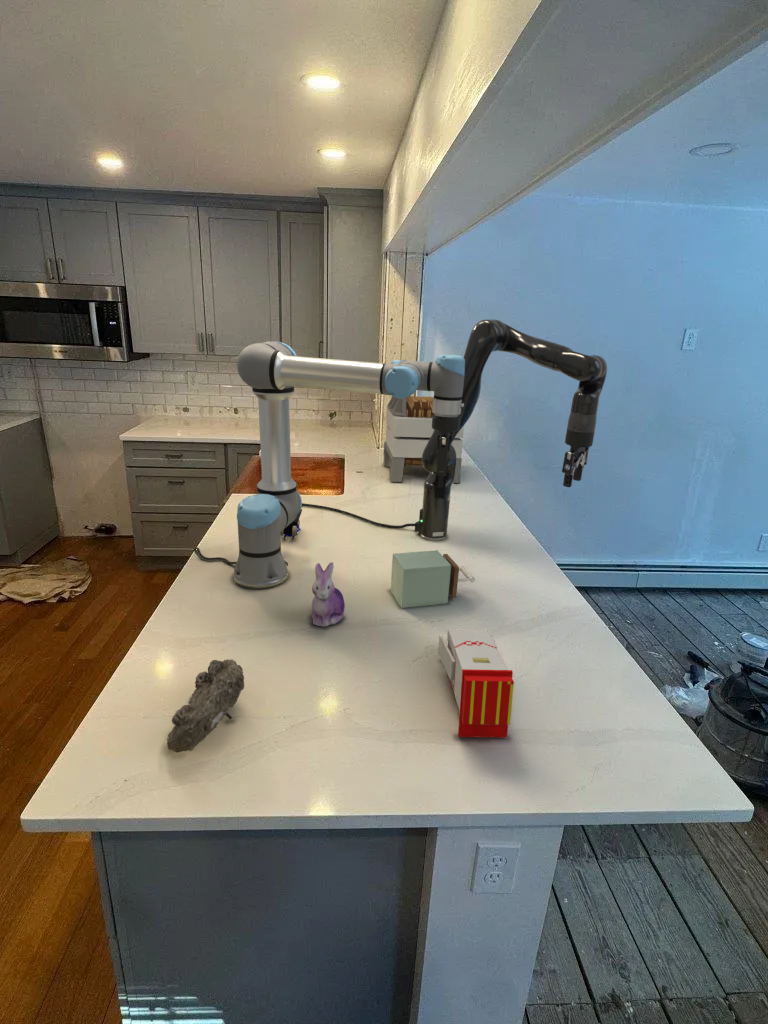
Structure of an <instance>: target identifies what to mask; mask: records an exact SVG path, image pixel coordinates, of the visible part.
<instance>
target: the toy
mask: <svg viewBox="0 0 768 1024" xmlns="http://www.w3.org/2000/svg"><path fill="white" fill-rule="evenodd" d="M446 640H447V643H446V641H445V639H444V636H443V635H442V634H439V637H438V646H437V656H438V657H439V659H440V661H441V663H442V666H443V668H444V670H445V672H446V674H447V677H448V679H449V681H450V684H451V687H452V690H453V693H454V697H455V701H456V705H457V708H458V711H459V714H458V715H459V716H458V730H457V731H458V732H457V737H458V738H508V731H509V726H510V725H511V717H512V707H513V697H514V696H513V695H514V684H515V680H514V679H513V673H514V671H513V670H512V669H508V667H507V665H506V662H505V661H504V659H503V658H502V655H501V653H500V651H499V649H498V647H497V643H496V639H495V637H494V635H493V634H491V632H490V631H489V629H467V628H466V629H465V628H463V629H461V628H460V629H459V628H448V630H447V639H446Z"/></svg>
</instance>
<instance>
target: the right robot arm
mask: <svg viewBox="0 0 768 1024" xmlns="http://www.w3.org/2000/svg"><path fill="white" fill-rule="evenodd" d="M493 352H505V353H510V354H514V355H517V356H520V357H522V358H524V359H527V360H528V361H529V362H532V363H534V364H535V365H538V366H540V367H542V368H546V369H548V370H552V371H554V372H557V373H561V374H563V375H565V376H566V377H569V378H571V379H573V380H576V381H579V383H578V385H577V389H576V390H575V392H574V393H573V396H572V400H571V407H570V413H569V416H568V419H567V425H566V432H565V438H564V443H565V444H566V445H567V446H569V447H570V448H569V451H565V453H564V458H563V463H562V468H561V473H563V474H564V477H563V483H562V486H564V487H566V488H571V487H572V486H573V485H572V484H573V481H576V482H580V481H582V476H583V472H584V471H583V470H584V468H585V466H587V463H588V456H589V450H590V447H593V445H594V438H595V433H596V426H597V418H598V417H597V415H598V410H599V409H598V408H599V403H600V396H601V394H602V390H603V388H604V384H605V381H606V378H607V373H608V364H607V361H606V359H605V358H604V357H602V356H601V355H598V354H591V355H589V354H584V353H581V352H579V351H574V350H573V349H572V348H570V347H568V346H566V345H564V344H559V343H557V342H553V341H549V340H546V339H542V338H540V337H536V336H532V335H530V334H527V333H524V332H522V331H520V330H517V329H516V328H514V327H512V326H510V325H508V324H506V323H505V322H502V321H501V320H499V319H489V318H486V319H485V318H484V319H481V320H478V322H477V323H475V325H474V326H473V327H472V329H471V332H470V334H469V337H468V341H467V345H466V348H465V351H464V354H463V358H464V359H465V372H464V373H465V375H464V385H463V394H462V402H461V403H463V404H464V406H463V407H461V414H460V415H458V416H459V417H460V428H459V430H458V431H455V432H452V431H451V432H450V436H452V442H453V440H454V438H455V436H456V435H457V434H458V432H459V431H460V430H461V428H462V427H463V426H464V427H465V425H466V424H467V422H468V421H469V420H470V418H471V417H472V414H473V413H474V410H475V408H476V405H477V404H478V401H479V398H480V396H481V389H482V376H483V372H484V369H485V367H486V364H487V362H488V360H489V358H490V356H491V355H492V353H493ZM438 435H441V431H437V430H434V432H433V434H432V436H431V438H430V440H429V442H428V443H427V445H426V447H425V449H424V451H423V454H422V464H423V466H422V467H423V468H424V470H425V471H427V472H428V473H429V474H428V476H427V477H426V478H425V480H424V482H423V493H422V496H423V497H422V506H421V508H420V509H419V516H418V520H417V521H415V523H405V524H401V525H393V524H387V523H381V522H376V521H374V520H371V519H369V518H366V517H362V516H360V515H358V514H354V513H351V512H348V511H346V510H343V509H340V508H339V509H338V508H334V507H329V506H325V505H319V504H311V503H304V502H302V507H308V508H309V507H310V508H315V509H316V508H317V509H323V510H327V511H328V510H329V511H333V512H336V513H340V514H343V515H347V516H350V517H353V518H354V519H358V520H361V521H363V522H366V523H368V524H371V525H374V526H379V527H384V528H388V529H405V528H408V527H414V532H417V535H418V536H420V538H421V539H424V540H426V541H432V542H440V541H444V540H446V539H447V538H448V525H449V517H450V516H449V514H450V504H451V494H452V493H451V491H452V486H453V484H454V483H453V481H454V476H455V468H456V451H455V449H454V447H453V446H452V445H450V453H448V458H450V461H447V462H448V467H447V479H446V485H445V497H444V499H440V498H434V495H435V482H436V475H434V472H436V471H437V462H438V452H437V445H438V444H437V437H438ZM451 444H452V443H451Z"/></svg>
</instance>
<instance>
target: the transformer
mask: <svg viewBox="0 0 768 1024" xmlns="http://www.w3.org/2000/svg"><path fill="white" fill-rule="evenodd" d="M433 398H434V396H415V395H414V396H413V395H411V396H409V397H407V398H395V397H393V396H391V398H390V400H389V402H388V404H387V405H386V413H385V414H386V415H385V423H386V428H385V438H384V442H383V466H384V467H388V468H389V475H388V476H389V477H388V478H389V480H390V482H391V483H402V482H403V475H404V469H405V466H406V467H407V466H411V467H412V466H413V467H415V466H416V467H417V466H418V467H423V464H422V454H423V451H424V449H425V447H426V445H427V443H428V442H429V440H430V438H431V436H432V434H433V432H434V429H433V428H432V416H433V415H434V413H433ZM464 429H465V425H464V426H463V427H462V428H461V430H460V431H459V432H458V434H457V435H456V436H455V438H454V440H453V442H452V444H451V445H452V446H453V447H454V449H455V451H456V468H455V476H454V481H453V483H452V484H455V483H456V484H459V483H461V472H462V461H463V460H462V453H463V442H464V441H463V440H462V439H463V438H464V431H465V430H464Z"/></svg>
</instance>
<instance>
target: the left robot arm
mask: <svg viewBox="0 0 768 1024" xmlns="http://www.w3.org/2000/svg"><path fill="white" fill-rule="evenodd" d="M236 368H237V372H238V376H239V377H240V379H241V380H242V381H243V382H244V383H245V384H246V385H247V386H249V387H251V391H252V393H253V394H254V395H255V396H256V397H257V402H258V403H257V404H258V422H259V445H260V465H261V479H260V481H258V483H257V484H256V493H255V494H252V495H249V496H246V497H244V498H242V499H241V500H240V501H239V503H238V505H237V508H236V509H237V512H236V520H237V537H238V538H237V539H238V556H237V560H236V561H230V560H228V559H227V558H225V557H219V556H216V557H206V556H205V555H203V554H202V553H201V550H200V548H199V547H195V548H194V549H193V551H194V552H197V554H198V555H199V557H200V558H201V559H202V560H205V561H224V562H225V563H226V564H228V565H235V566H234V569H233V581H234V582H235V583H236V584H237V585H238V586H241V587H244V588H247V589H255V590H256V589H257V590H258V589H259V590H261V589H268V588H273V587H276V586H280V585H281V584H282V583H284V582H286V580H287V579H288V577H289V571H288V566H289V562H287V561H286V560H285V559H284V556H283V553H282V541H281V538H282V536H281V532H282V531H283V530H284V529H285V528H286V527H287V526H288V525H289V524H290V523H292V522H293V521H294V520H295V519H296V518H297V516H298V514H299V513H300V510H301V509H302V508H303V506H302V503H303V501H302V496H301V494H300V492H299V491H298V488H297V482H296V481H295V480H294V479H293V478H292V460H291V459H292V457H291V456H292V455H291V453H292V452H291V421H290V420H291V419H290V417H291V416H290V397H291V396H292V395H293V394H294V393H295V388H303V389H304V388H305V389H316V390H327V391H328V390H329V391H341V392H352V393H363V394H364V393H365V394H374V395H385V396H391V397H392V396H393V397H395V398H407V397H409V396H413V395H414V394H415V393H416V392H417V391H419V392H421V391H422V392H425V391H426V392H433V397H434V398H433V413H434V415H433V416H432V428H433V429H434V430H437V431H441V435H438V437H437V444H438V445H437V452H438V462H437V471H436V472H434V475H436V482H435V495H434V498H440V499H444V497H445V485H446V479H447V467H448V462H447V461H450V458H448V453H450V445H451V443H452V436H450V432H451V431H452V432H455V431H458V430H459V428H460V417H459V416H458V415H460V414H461V407H463V406H464V404H463V403H461V402H462V394H463V385H464V375H465V373H464V372H465V359H464V356H462V355H458V354H437V356H436V358H435V361H419V360H407V359H394V360H392V361H391V363H385V362H372V361H363V360H362V361H361V360H349V359H348V360H347V359H336V358H325V357H311V356H301V355H297V353H296V351H295V350H294V349H293V348H292V347H291V346H290V345H288V344H286V343H285V342H282V341H275V340H272V341H271V340H269V341H264V342H256V343H252V344H249V345H248V346H245V348H243V349H242V350H241V352H239V355H238V357H237V362H236ZM196 549H197V550H196Z"/></svg>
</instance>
